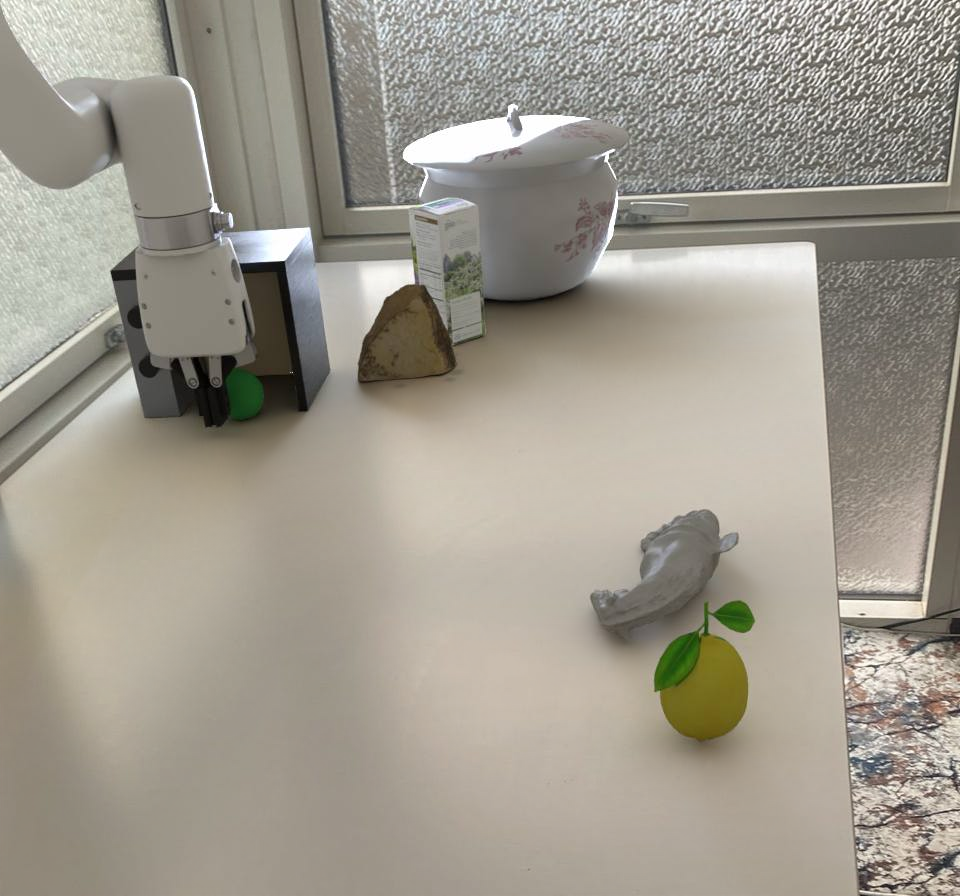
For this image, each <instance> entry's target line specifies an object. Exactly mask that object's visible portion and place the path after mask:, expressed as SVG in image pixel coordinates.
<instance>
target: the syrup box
mask: <svg viewBox="0 0 960 896" xmlns="http://www.w3.org/2000/svg"><path fill="white" fill-rule="evenodd" d="M408 221H409V233H410V244H411V254H412V265H413V276H414V284H415V285H416V286H419V285H425V286H426V288H427V291H428V292H429V294H430V295H431V296H432V298H433V301H434V303H435V304H436V306H437V308H438V311H439V313H440V316H441V317H442V320H443V323H444V325H445V327H446V329H447V330H448V332H449V335H450V339H451V344H452V347H454V346H456V345H459V344H462V343H466V342H468V341H469V342H470V341H471V340H474V339H477V338H480V337H483V336H485V335H486V317H485V315H486V314H485V298H484V297H483V280H482V262H481V244H480V226H479V209H478V206H477V205H476V204H474V203H471V202H469V201H466V200H463V199H459V198H444V199H441V200H437V201H433V202H429V203H426V204H422V205H420V204H418V205H415V206H411V207H409V208H408Z"/></svg>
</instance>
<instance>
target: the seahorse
mask: <svg viewBox="0 0 960 896" xmlns="http://www.w3.org/2000/svg"><path fill="white" fill-rule="evenodd" d="M720 532H721V531H720V522H719V519H718V517H717V515H716V514H715V513H713V512H712V510H710V509H707V508H701V509H699V510H691V511H689V512H687V513H686V514H685V515H680V514H679V515H675V516H674V518H672V520H671V521H670V522H667V523H662V525H661V527H659V528H657V529H655V530H653V531H650V532H648V533H647V534H646V535H645V537H644V538H642V539H641V541H640V549H641V551H642V552H644V554H643V557H642V559H641V562H640V566H639V575H640V579H641V581H640V582H639V583H638V584H636V585H635V586H634V587H632V588H631V589H629V590H628V589H625V588H621V589H616V590H614V591H613V592H612V591H610V590H609V589H603V590H598V589H596V588H595V589H594V591H593V592H591V593H590V595H589V599H590V603H591V606H592V608H593V609H594V611H595V612H596V613H597V615H598V621H599V622H600V626H601V627H604V628H605V630H606V631H607V632H609V633H610V632H611V633H613V632H617V634H618V635H619V636H620V637H621V638H623V639H624V640H625V641H630V640H631V629H635V628H639V627H642V626H645V625H648V624H652V623H655V622H656V621H658V620H660V619H662V618H664V617H667V616H669V615H672V614H674V613H677V612H679V611H680V610H681V609H682V608H683V607H684V606H685V605H686V604H687V603H688V602H689V601H691V600H692V598H694V596H696V595H697V594H698V593H699V592H700V591H701V590H703V588H704V587H705V586H706V585H707V584H708V582H709V580H710V579H712V577H713V575H714V573H715V571H716V570H717V567H718V564H719V561H720V558H721V557H720V556H721V554H723V553H727V552H729V551H731V550H733V548H735V547H736V546H737V545H738V544H739V540H740V538H739V537H740V536H739V533H738V532H730V533H727V534H725V535H723V536H722V537H720Z"/></svg>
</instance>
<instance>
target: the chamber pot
mask: <svg viewBox="0 0 960 896" xmlns="http://www.w3.org/2000/svg"><path fill="white" fill-rule="evenodd" d="M629 139H630V136H629V134H628V132H627V130H625V128H624V127H621V126H618V125H616V124H613V123H610V122H605V121H602V120H599V119H592V118H587V117H580V116H566V115H523V116H520V114H519V112H518V106H517V105H515V104H514V103H512V104H509V105H508V113H507V117H500V118H493V119H486V120H479V121H475V122H471V123H470V122H469V123H465V124H461V125H457V126H453V127H449V128H446V129H443V130H440V131H436V132H434V133H431V134H428V135H426V136H425V137H423V138H419V139H417V140H416V141H414V142H412V143H411V144H409V145H408V146H406V148H405V149H404V151H403V157H402V159H404V160H405V161H407V162H408V163H410V164H411V165H413V166H414V167H416V168H420V169H423V172H424V173H425V178H424V181H423V183H422V186H421V189H420V191H419V205H422V204H426V203H429V202H433V201H437V200H441V199H444V198H459V199H463V200H466V201H469V202H471V203H474V204H476V205H477V206H478V209H479V226H480V244H481V262H482V280H483V297H484V299H486V300H491V301H497V302H525V301H533V300H540V299H545V298H550V297H554V296H556V295H559V294H562V293H564V292H566V291H568V290H571V289H573V288H575V287H577V286H578V285H581V284H582V283H585V282H586V280H587V279H588V278H589V277H590V275H591V274H592V273H593V272H594V271H595V269H596V268H597V266H598V263H599V262H600V260H601V258H602V256H603V254H604V253H605V250H606V249H607V247H608V245H609V243H610V241H611V239H612V237H613V234H614V226H615V222H616V216H617V210H618V204H619V201H618V200H619V199H618V198H619V197H618V194H619V193H618V191H619V189H618V187H619V186H618V179H617V177H616V175H615V173H614V170H613V169H612V167H611V165H610V163H609V162H608V161H609V157H610V155H611V153H613V152H615V151H618V150H619V149H621V147H623V146H624V144H626V143H627V141H628V140H629Z"/></svg>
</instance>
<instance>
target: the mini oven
mask: <svg viewBox="0 0 960 896" xmlns="http://www.w3.org/2000/svg"><path fill="white" fill-rule="evenodd" d="M221 237H227V238H229V239H230V241H231V243H232V245H233V248H234V251H235V253H236V256H237V259H238V262H239V265H240V269H241V272H242V275H243V279H244V283H245V286H246V290H247V294H248V298H249V302H250V306H251V310H252V315H253V320H254V326H255V334H254V337H253V338H252V340H253V342H254V345H255V347H256V350H257V352H258V356H257V358H256V359H255V361H254V362H252V363H249V364H246V365H243V366H240V367H235V368H234V369H243V370H246V371H249V372H250V373H252V374H253V375H255V376H256V377H260V376H284V375H292V376H293V382H294V388H295V394H296V400H297V402H296V403H297V407H298V411H299V412H308V411H309V410H310V408H311V406H312V405H313V403H314V401H315V399H316V397H317V395H318V393H319V391H320V389H321V388H322V386H323V384H324V383H325V380H326V379H327V377H328V375H329V373H330V371H331V363H330V356H329V350H328V344H327V336H326V329H325V328H326V327H325V324H324V315H323V308H322V301H321V295H320V287H319V281H318V273H317V267H316V259H315V253H314V247H313V239H312V231H311V227H299V228H282V229H265V230H250V231H233V232H231V231H230V232H222V234H221ZM138 246H140V244H138V245H137V246H136V247H135V248H134V249H133V250H131V251H130V252H129V253H128V254H127V255H126V256H125V257H123V259H121V260H120V261H119V262H118V263H117V264H116V265H115V266H113V267H112V269H110V270H109V272H110V276H111V281H112V285H113V290H114V294H115V297H116V302H117V306H118V310H119V315H120V319H121V324H122V328H123V331H124V336H125V340H126V344H127V350H128V353H129V358H130V361H131V367H132V370H133V374H134V379H135V383H136V388H137V392H138V396H139V400H140V404H141V410H142V414H143V417H144V418H145V419H149V418H175V417H181V416H182V415H183V413H184V412H185V410H186V409H187V408H188V407H189V405H190V404H191V403H192V401H193V400H194V399H195V395H194V390H193V388H191V387H189V386H188V384H187V381H186V380H185V379H183V378H182V377H181V376H180V375H178V374H177V373H176V372H175V371H174V370H171V369H170V370H168V369H164V368H159V367H155V366H153V365H152V364H151V361H150V351H149V349H148V346H147V343H146V340H145V336H144V331H143V326H142V320H141V314H140V308H139V301H138V292H137V280H136V261H135V251H136V249H137V248H138ZM201 360H202V363H203V366H204V368H205V371H206V374H207V375H208V378H210V371H209V356H202V357H201ZM234 369H233V370H234ZM290 372H291V373H290ZM292 372H293V373H292Z"/></svg>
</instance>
